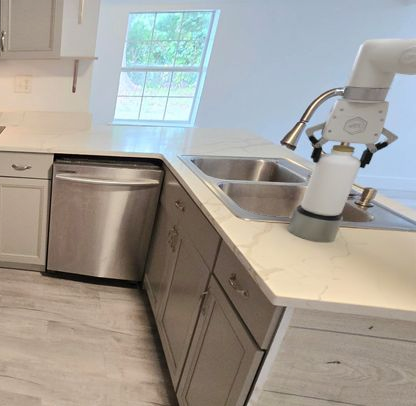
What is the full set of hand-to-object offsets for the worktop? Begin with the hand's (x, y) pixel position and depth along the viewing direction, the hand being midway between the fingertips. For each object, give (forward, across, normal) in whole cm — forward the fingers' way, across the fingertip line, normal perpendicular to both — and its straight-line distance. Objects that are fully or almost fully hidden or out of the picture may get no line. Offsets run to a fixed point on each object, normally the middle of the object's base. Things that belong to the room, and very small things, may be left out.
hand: (337, 163), depth 94 cm
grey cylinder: (+21, 0, 0) cm, 21 cm away
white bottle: (+14, 0, 0) cm, 14 cm away
